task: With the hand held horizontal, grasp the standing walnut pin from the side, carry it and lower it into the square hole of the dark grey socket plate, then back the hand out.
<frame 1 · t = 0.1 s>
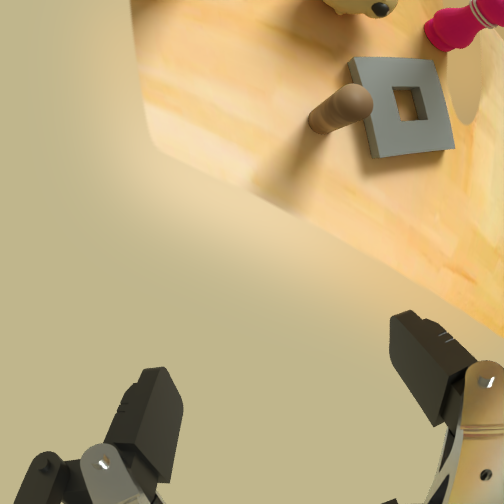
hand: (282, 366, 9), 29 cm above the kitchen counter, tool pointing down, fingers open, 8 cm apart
pin: (321, 120, 34), on the kitchen counter
socket: (402, 106, 33), on the kitchen counter
beige animal figure: (342, 3, 29), on the kitchen counter
pepper mill: (437, 36, 30), on the kitchen counter
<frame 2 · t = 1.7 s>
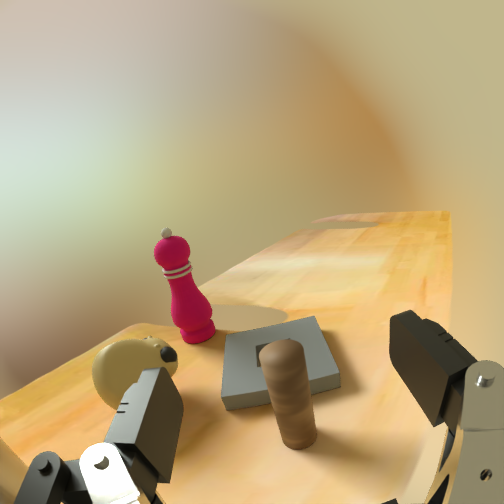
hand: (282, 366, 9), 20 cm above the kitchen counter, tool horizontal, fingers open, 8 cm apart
pin: (299, 436, 25), on the kitchen counter
socket: (277, 365, 38), on the kitchen counter
beige animal figure: (152, 402, 35), on the kitchen counter
pepper mill: (199, 335, 51), on the kitchen counter
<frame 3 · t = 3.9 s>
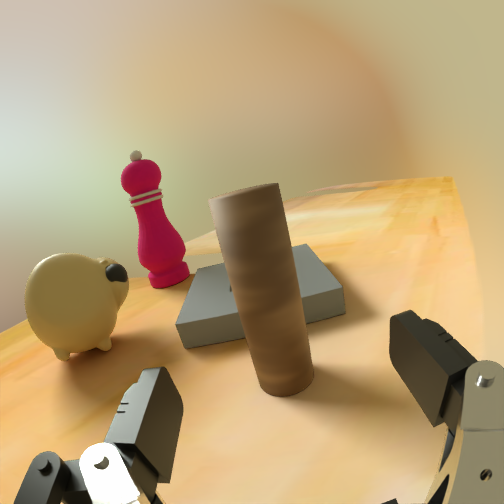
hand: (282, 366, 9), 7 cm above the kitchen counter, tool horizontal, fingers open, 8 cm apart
pin: (286, 377, 18), on the kitchen counter
socket: (259, 298, 30), on the kitchen counter
beige animal figure: (98, 346, 27), on the kitchen counter
pepper mill: (171, 280, 43), on the kitchen counter
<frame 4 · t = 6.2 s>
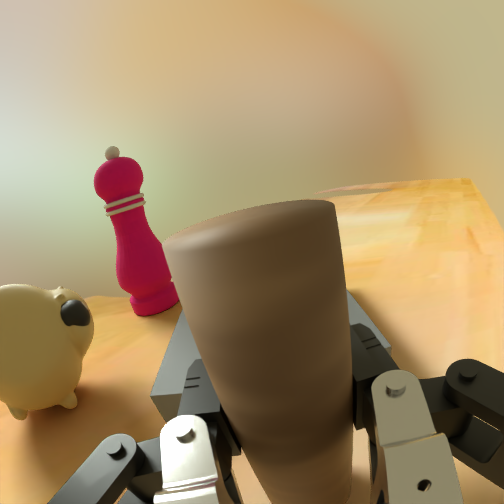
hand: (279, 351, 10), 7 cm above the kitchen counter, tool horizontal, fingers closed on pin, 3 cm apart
pin: (310, 490, 9), on the kitchen counter, touching gripper
socket: (267, 344, 22), on the kitchen counter
beige animal figure: (64, 397, 19), on the kitchen counter
pepper mill: (157, 305, 35), on the kitchen counter
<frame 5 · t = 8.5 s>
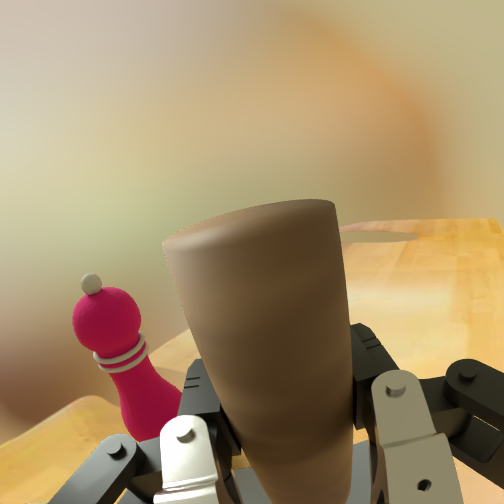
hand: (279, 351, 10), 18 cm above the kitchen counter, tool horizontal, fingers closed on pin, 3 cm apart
pin: (310, 490, 9), point 11 cm above the kitchen counter, touching gripper
pepper mill: (175, 441, 26), on the kitchen counter
when the fingers open (8 cm above the kitchen counter, at t = 11.2 s): pin drops 1 cm, resting in socket.
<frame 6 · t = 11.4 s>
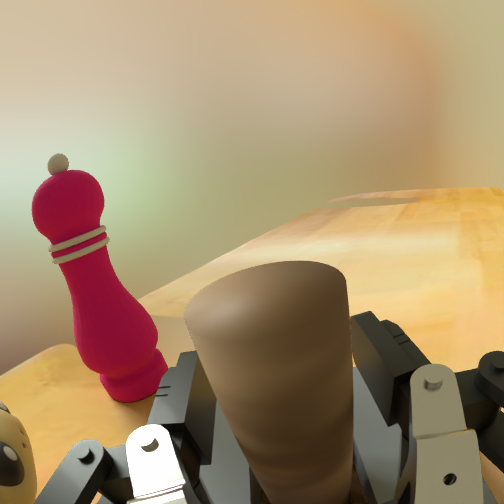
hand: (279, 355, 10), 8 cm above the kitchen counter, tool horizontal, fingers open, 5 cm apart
pin: (312, 502, 10), resting in socket
socket: (312, 501, 10), on the kitchen counter
pepper mill: (138, 381, 23), on the kitchen counter
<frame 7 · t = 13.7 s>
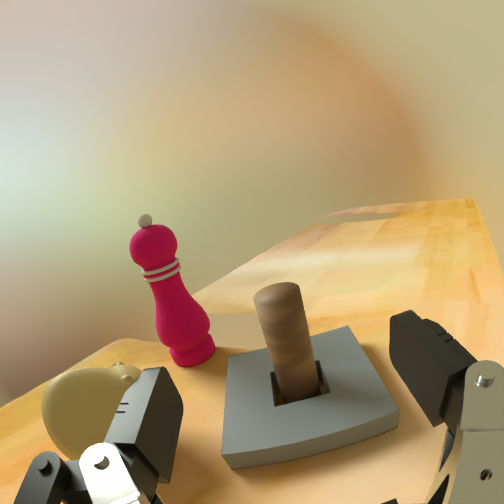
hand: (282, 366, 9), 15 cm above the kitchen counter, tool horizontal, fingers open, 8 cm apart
pin: (302, 400, 25), resting in socket
socket: (302, 399, 25), on the kitchen counter
beige animal figure: (129, 449, 22), on the kitchen counter
pepper mill: (194, 354, 38), on the kitchen counter
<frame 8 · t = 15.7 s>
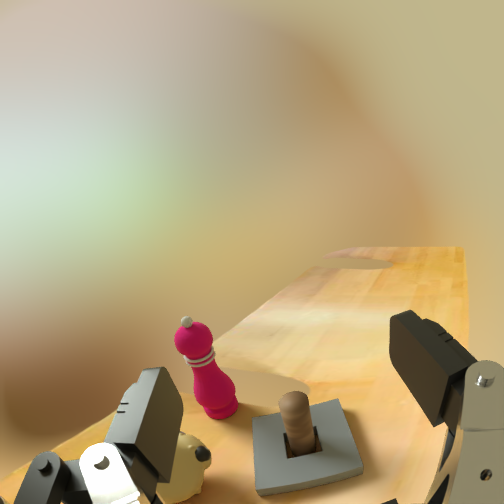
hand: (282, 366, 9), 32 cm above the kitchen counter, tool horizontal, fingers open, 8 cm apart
pin: (304, 450, 35), resting in socket
socket: (304, 450, 35), on the kitchen counter
beige animal figure: (186, 484, 31), on the kitchen counter
pepper mill: (222, 408, 48), on the kitchen counter
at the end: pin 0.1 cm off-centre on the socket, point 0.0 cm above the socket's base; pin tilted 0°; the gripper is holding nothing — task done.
